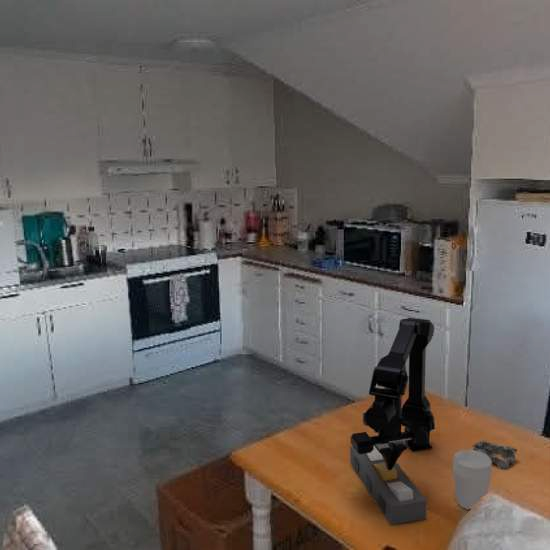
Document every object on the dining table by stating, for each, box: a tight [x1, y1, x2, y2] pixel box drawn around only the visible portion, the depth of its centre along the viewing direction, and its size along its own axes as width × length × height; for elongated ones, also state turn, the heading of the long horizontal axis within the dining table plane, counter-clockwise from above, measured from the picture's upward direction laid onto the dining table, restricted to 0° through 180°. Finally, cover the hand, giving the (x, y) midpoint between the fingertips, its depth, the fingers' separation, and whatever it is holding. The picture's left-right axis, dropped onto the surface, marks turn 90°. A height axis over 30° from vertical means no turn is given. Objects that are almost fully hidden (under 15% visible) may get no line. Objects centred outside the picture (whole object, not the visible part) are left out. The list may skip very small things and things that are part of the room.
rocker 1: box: [365, 446, 383, 462], centre depth 154 cm, size 4×7×2 cm, turn 12°
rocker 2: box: [373, 463, 398, 481], centre depth 145 cm, size 4×7×2 cm, turn 12°
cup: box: [452, 449, 493, 511], centre depth 138 cm, size 9×9×12 cm
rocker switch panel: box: [349, 446, 428, 526], centre depth 146 cm, size 9×28×5 cm, turn 12°
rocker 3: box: [387, 481, 413, 502], centre depth 136 cm, size 4×7×2 cm, turn 12°
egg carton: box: [471, 439, 518, 469], centre depth 158 cm, size 11×8×4 cm
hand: (389, 469), depth 142 cm, fingers closed
